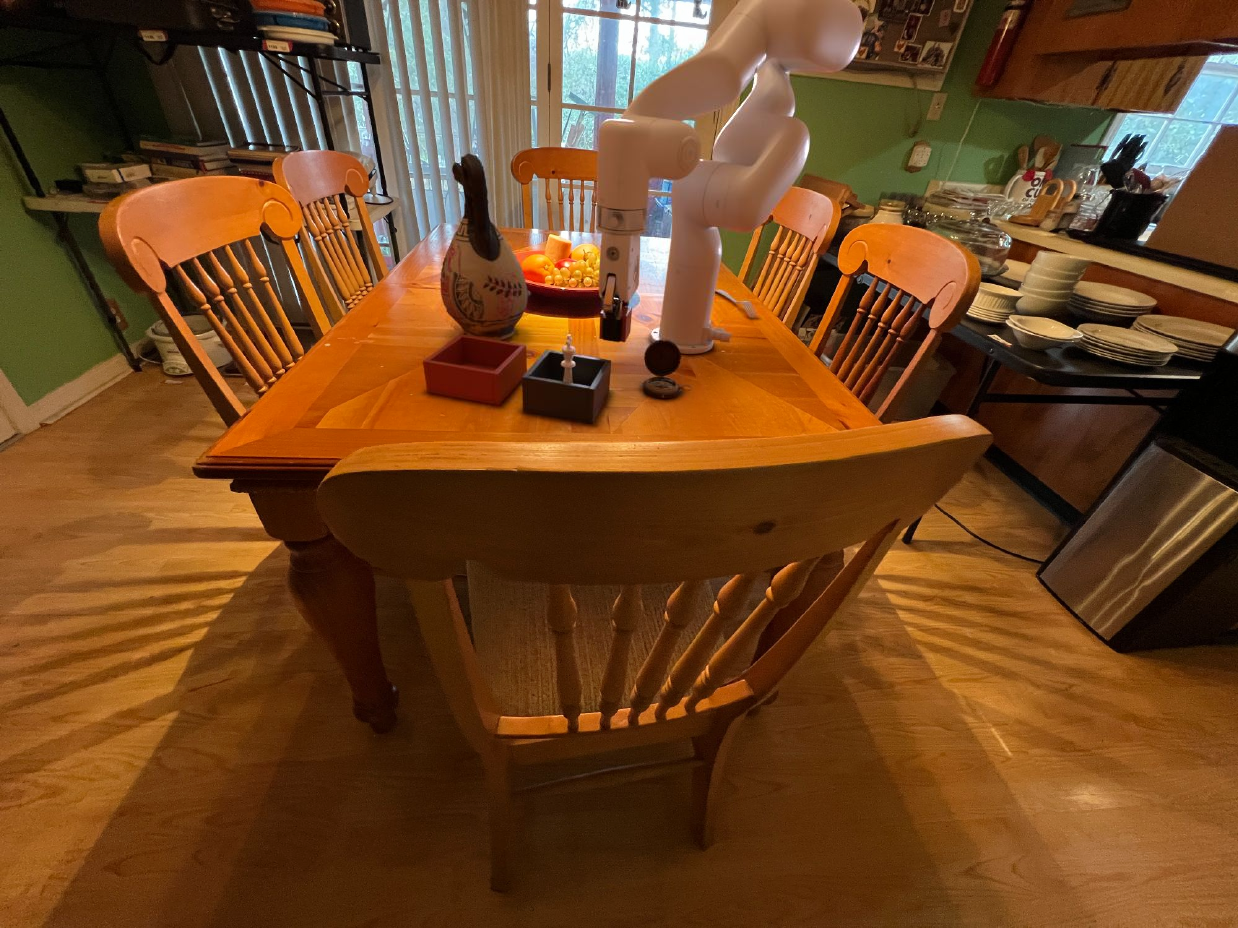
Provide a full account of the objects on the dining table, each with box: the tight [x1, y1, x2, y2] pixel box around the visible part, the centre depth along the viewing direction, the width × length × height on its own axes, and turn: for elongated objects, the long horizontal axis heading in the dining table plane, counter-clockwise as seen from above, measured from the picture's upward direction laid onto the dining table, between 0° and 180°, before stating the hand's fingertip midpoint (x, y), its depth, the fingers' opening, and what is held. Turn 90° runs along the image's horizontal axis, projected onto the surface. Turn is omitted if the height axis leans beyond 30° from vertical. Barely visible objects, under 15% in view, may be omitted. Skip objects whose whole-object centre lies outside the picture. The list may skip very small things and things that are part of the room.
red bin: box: [422, 333, 528, 406], centre depth 79 cm, size 12×12×5 cm
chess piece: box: [561, 334, 577, 383], centre depth 74 cm, size 5×5×10 cm
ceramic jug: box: [439, 153, 529, 341], centre depth 88 cm, size 17×15×30 cm
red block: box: [598, 305, 633, 343], centre depth 85 cm, size 4×4×4 cm
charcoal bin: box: [521, 349, 612, 425], centre depth 76 cm, size 11×11×6 cm
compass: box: [642, 339, 692, 399], centre depth 82 cm, size 8×8×7 cm
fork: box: [715, 289, 758, 319], centre depth 126 cm, size 3×21×3 cm, turn 15°
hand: (615, 333), depth 86 cm, fingers closed on red block, 4 cm apart
